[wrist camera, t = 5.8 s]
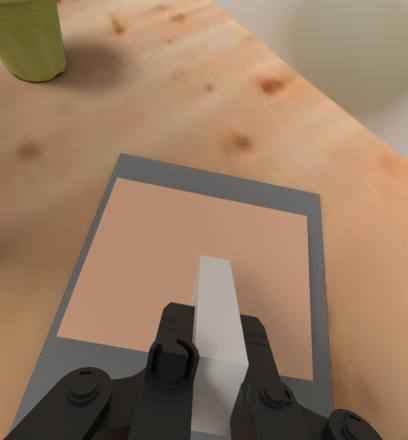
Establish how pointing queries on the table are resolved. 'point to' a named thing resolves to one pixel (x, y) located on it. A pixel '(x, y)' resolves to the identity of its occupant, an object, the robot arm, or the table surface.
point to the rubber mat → (136, 360)
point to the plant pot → (31, 39)
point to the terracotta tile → (191, 269)
